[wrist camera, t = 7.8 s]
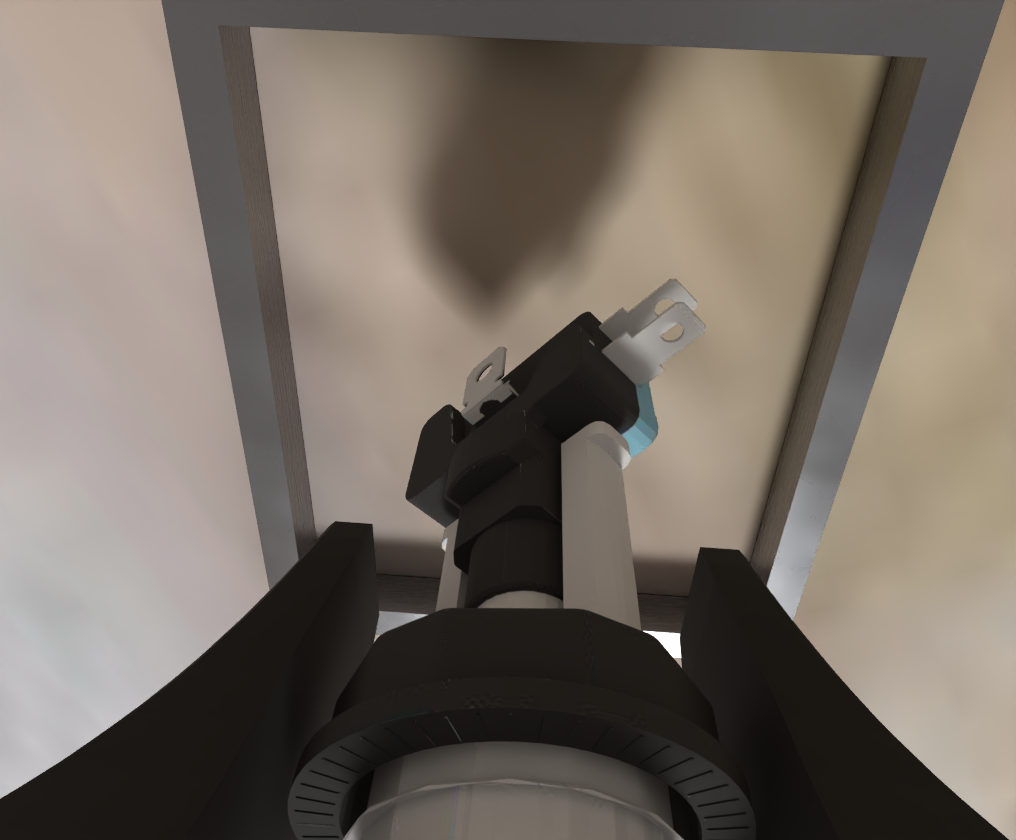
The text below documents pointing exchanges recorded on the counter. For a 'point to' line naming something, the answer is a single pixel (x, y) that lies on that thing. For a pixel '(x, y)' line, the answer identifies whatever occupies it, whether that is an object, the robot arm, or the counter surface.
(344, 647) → the robot arm
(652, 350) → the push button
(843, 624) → the counter surface
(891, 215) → the frame
